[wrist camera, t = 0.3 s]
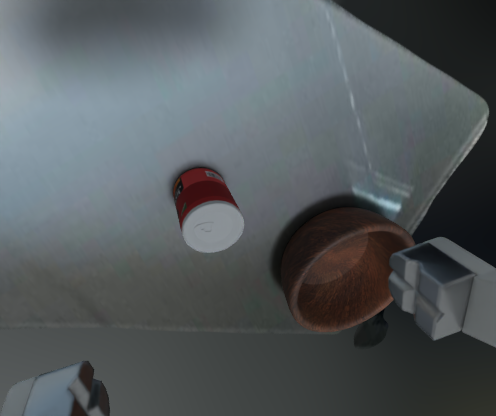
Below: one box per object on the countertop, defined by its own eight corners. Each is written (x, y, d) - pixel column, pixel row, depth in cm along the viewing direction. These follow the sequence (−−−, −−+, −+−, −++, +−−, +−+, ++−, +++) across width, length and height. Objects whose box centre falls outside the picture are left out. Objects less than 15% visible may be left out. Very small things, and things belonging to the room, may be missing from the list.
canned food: (166, 173, 47) (175, 213, 38) (219, 160, 48) (240, 195, 39) (179, 216, 51) (190, 261, 42) (228, 202, 52) (248, 243, 43)
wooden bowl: (288, 191, 55) (316, 225, 47) (400, 196, 64) (441, 225, 55) (257, 299, 67) (275, 341, 58) (356, 290, 76) (384, 325, 67)
